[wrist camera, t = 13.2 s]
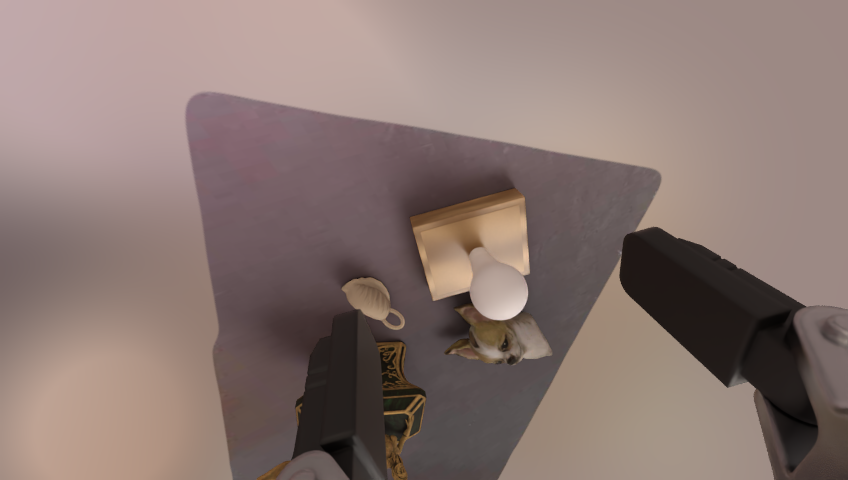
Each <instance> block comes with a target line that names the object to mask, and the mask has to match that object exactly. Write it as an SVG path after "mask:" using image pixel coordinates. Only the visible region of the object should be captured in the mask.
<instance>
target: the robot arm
mask: <svg viewBox="0 0 848 480" xmlns="http://www.w3.org/2000/svg"><path fill="white" fill-rule="evenodd" d="M620 281H621V284H622V286H623V288H624V290H625V292H626V293H627V294H628V295H629V296H630V297H631V298H632V299H633V300H634V301H635V302H636V303H638V304H639V305H640V306H641V307H642V308H643V309H644V310H645V311H646V312H647V313H648V314H649V315H650V316H652V317H653V318H654V319H655V320H656V321H657V322H658V323H659V324H660V325H661V326H662V327H663V328H664V329H665V330H666V331H667V332H669V333H670V334H671V335H672V336H673V337H674V338H675V339H676V340H677V341H678V342H679V343H680V344H681V345H682V346H683V347H685V348H686V349H687V350H688V351H689V352H690V353H691V354H692V355H693V356H694V357H695V358H696V359H697V360H698V361H700V362H701V363H702V364H703V365H704V366H705V367H706V368H707V369H708V370H709V371H710V372H711V373H712V374H714V375H715V376H716V377H717V378H718V379H719V380H720V381H721V382H722V383H723V384H724V385H725V386H726V387H727V388H728V387H731V386H735V385H738V384H742V383H745V382H749V383H751V384H752V385H753V386H754V387H755V388H756V390H755V392H754V402H755V405H756V409H757V412H758V417H759V421H760V425H761V428H762V432H763V436H764V440H765V443H766V447H767V451H768V455H769V459H770V462H771V466H772V470H773V475H774V480H848V310H847V309H843V308H838V307H832V306H809V307H806V306H804V305H803V304H801V303H799V302H797V301H796V300H794V299H792V298H791V297H789V296H787V295H785V294H784V293H782V292H780V291H779V290H777V289H775V288H773V287H772V286H770V285H768V284H767V283H765V282H763V281H762V280H760V279H758V278H756V277H755V276H753V275H751V274H749V273H748V272H746V271H744V270H743V269H741V268H740V269H738V268H737V267H736V265H734V264H733V263H731V262H729V261H727V260H726V259H721V256H719V255H717V254H715V253H714V252H712V251H710V250H709V249H707V248H705V247H704V246H702V245H699V244H695V243H693V242H690V241H686V240H683V239H680V238H678V239H677V238H675V237H674V236H672V235H670V234H669V233H667V232H665V231H664V230H662V229H660V228H658V227H651V228H647V229H644V230H640V231H637V232H633V233H630V234H627V235H626V236H625V238H624V241H623V249H622V257H621V267H620ZM307 373H308V376H307V378H306V384H305V392H304V395H303V401H302V407H301V413H300V419H299V424H298V430H297V436H296V442H295V448H294V452H293V457H292V459H291V462H289V463H288V464H287V465H286V466H285V467H284V469H283V470H282V471H281V472H280V474H279V475H278V476H277V478H276V480H388V479H387V461H386V443H385V425H384V408H383V390H382V372H381V360H380V354H379V350H378V347H377V344H376V341H375V339H374V337H373V335H372V332H371V330H370V328H369V326H368V323H367V321H366V319H365V317H364V314H363V312H362V311H361V309H357V310H353V311H350V312H346V313H343V314H339V315H336V316H334V318H333V324H332V333H331V336H328V337H325V338H321V339H320V340H319V341H318V343H317V345H316V347H315V348H314V350H313V352H312V354H311V355H310V360H309V366H308V372H307Z"/></svg>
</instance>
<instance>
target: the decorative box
mask: <svg viewBox="0 0 848 480" xmlns="http://www.w3.org/2000/svg"><path fill="white" fill-rule="evenodd" d="M376 344H377V347H378V350H379V354H380V360H381V372H382V390H383V408H384V425H385V443H386V461H387V468H388V467H389V468H392V476H393V478H394V480H407V473H406V470H405V468H404V466H403V461H402V459H401V458H400V456H399V454H400V453H401V451H402V448H403V445H404V442H405V440H407V439H409V438H410V437H412V436H414V435H415V434H417V433H418V432H420V429H421V424H422V418H423V413H424V407H425V402H426V393H425V391H424V390H423V389H421V388H420V387H417V386H415V385H413V384H411V383H409V382H408V381H407V380H406V378H405V376H404V372H403V368H404V360H405V352H406V345H405V344H404V343H402V342H382V343H376ZM302 401H303V396H302V397H300V398H299V399H297V401H296V406H295V409H296V416H297V424H299V419H300V413H301V407H302ZM397 443H398V445H397ZM289 462H291V461H285V462H283V463H281V464H279V465H278V466H276V467H274V468H273V469H271V470H270V471H268V472H267V473H265V474H264V475H262V476H260V477H258V478H257V480H276V478H277V476H278V475H279V474H280V472H281V471H282V470H283V469H284V467H285V466H286V465H287V464H288V463H289Z"/></svg>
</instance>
